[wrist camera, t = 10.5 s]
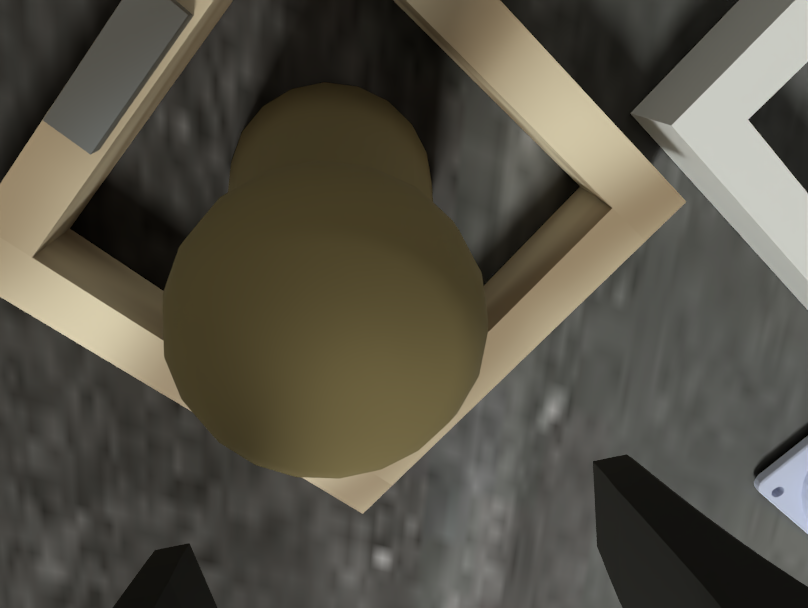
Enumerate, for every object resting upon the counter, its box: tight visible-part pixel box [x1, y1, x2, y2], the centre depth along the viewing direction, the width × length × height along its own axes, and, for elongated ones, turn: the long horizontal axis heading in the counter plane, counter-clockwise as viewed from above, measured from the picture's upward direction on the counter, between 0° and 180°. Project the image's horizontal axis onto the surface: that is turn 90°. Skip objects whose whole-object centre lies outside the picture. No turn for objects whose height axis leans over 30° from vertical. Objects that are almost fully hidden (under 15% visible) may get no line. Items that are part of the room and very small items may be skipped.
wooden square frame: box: [0, 0, 686, 514], centre depth 17 cm, size 14×14×3 cm
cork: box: [163, 82, 488, 479], centre depth 14 cm, size 6×6×11 cm
